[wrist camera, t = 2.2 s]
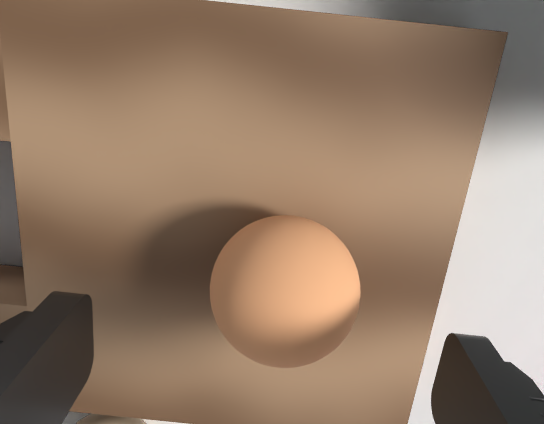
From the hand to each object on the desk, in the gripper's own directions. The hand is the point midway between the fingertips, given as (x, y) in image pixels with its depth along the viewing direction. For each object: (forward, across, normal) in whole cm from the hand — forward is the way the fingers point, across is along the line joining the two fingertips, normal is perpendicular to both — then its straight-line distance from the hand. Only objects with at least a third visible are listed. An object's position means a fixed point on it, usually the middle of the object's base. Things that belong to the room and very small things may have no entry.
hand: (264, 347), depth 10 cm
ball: (+4, 0, 0) cm, 4 cm away
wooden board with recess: (+7, +5, 0) cm, 8 cm away
